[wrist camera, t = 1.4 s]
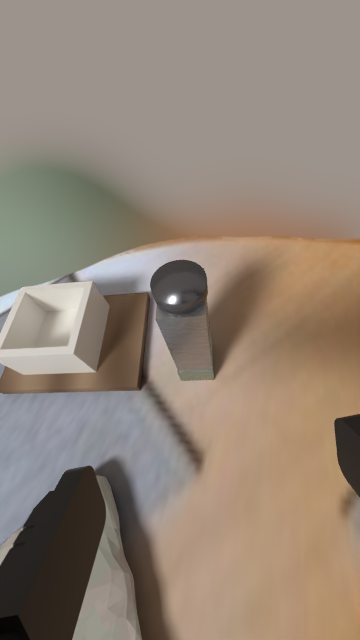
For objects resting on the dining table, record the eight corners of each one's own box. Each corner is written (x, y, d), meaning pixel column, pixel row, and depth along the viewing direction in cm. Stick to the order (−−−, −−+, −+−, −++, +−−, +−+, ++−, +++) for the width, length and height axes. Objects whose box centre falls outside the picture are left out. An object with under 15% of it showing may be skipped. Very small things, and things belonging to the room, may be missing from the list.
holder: (109, 306, 31) (92, 280, 27) (96, 372, 27) (73, 353, 23) (46, 310, 32) (21, 287, 28) (23, 374, 28) (-11, 357, 24)
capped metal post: (213, 342, 28) (205, 254, 17) (215, 379, 25) (208, 305, 14) (180, 344, 28) (152, 259, 17) (180, 380, 26) (147, 310, 15)
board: (149, 298, 32) (147, 292, 31) (140, 390, 26) (137, 386, 25) (37, 306, 35) (32, 301, 34) (3, 393, 28) (-5, 390, 27)
